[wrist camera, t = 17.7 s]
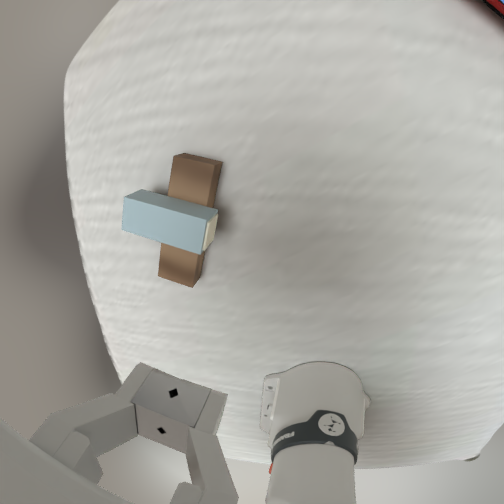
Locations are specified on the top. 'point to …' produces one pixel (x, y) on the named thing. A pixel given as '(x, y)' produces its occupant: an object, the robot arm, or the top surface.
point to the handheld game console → (496, 6)
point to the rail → (196, 191)
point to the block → (169, 220)
